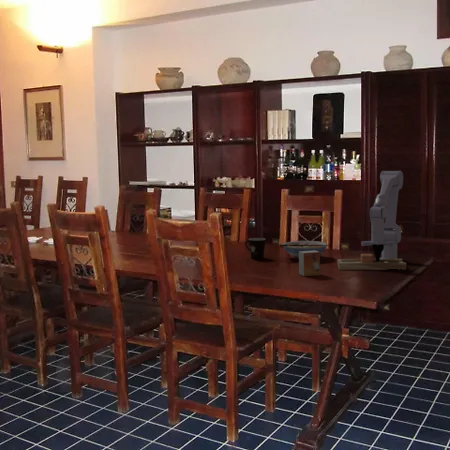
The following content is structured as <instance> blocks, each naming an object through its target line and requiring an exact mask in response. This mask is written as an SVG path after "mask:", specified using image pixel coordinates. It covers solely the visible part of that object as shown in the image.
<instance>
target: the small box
mask: <svg viewBox="0 0 450 450" xmlns="http://www.w3.org/2000/svg"><path fill="white" fill-rule="evenodd" d="M298 274H299V275H301V276H302V277H308V276H311V277H312V276H321V254H320V252H318V251H316V250H313V251H299V259H298Z"/></svg>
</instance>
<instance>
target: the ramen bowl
mask: <svg viewBox="0 0 450 450" xmlns="http://www.w3.org/2000/svg"><path fill="white" fill-rule="evenodd" d="M327 246H329V247H331V244H328V243H326V242H323V241H316V240H296V241H293V240H292V241H288V242H283V243H282V244H279V247H283V249H284V250H285V251H286V252H287V254H289V255H290V256H291V257H295V258H296V259H298V260H299V251H313V250H316V251H318V252H320V255H322V253H323V252H324V251H325V249H326V248H327Z"/></svg>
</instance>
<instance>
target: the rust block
mask: <svg viewBox="0 0 450 450" xmlns="http://www.w3.org/2000/svg"><path fill="white" fill-rule="evenodd" d="M360 259H361V263H373V259H374V255H373V254H372V253H360Z"/></svg>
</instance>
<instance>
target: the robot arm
mask: <svg viewBox="0 0 450 450" xmlns="http://www.w3.org/2000/svg"><path fill="white" fill-rule="evenodd" d="M379 179H380V184H381V188H380V192H379V193H378V194H376V197H375V201H374V203H373V206H372V207H370V208H369V212H368V213H369V221H370V223H371V228H370V230H371V231H370V232H371V234H370V235H371V236H370V237H371V238H370V240H362V241H361V247H365V246H368V247H369V246H370V247H371V248H372V249H371V250H372V251H373V253H374V257H375V258H374V259H376V261H379V260H380V259H398V243H400V242H401V240H402V229H401V227H400V225H398V224H397V223H396V221H397V209H398V201H399V198H398V197H399V191H400V190H402V189H403V184H404V183H403V182H404V173H403V172H402V170H382V171H381V172H380V175H379Z"/></svg>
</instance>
